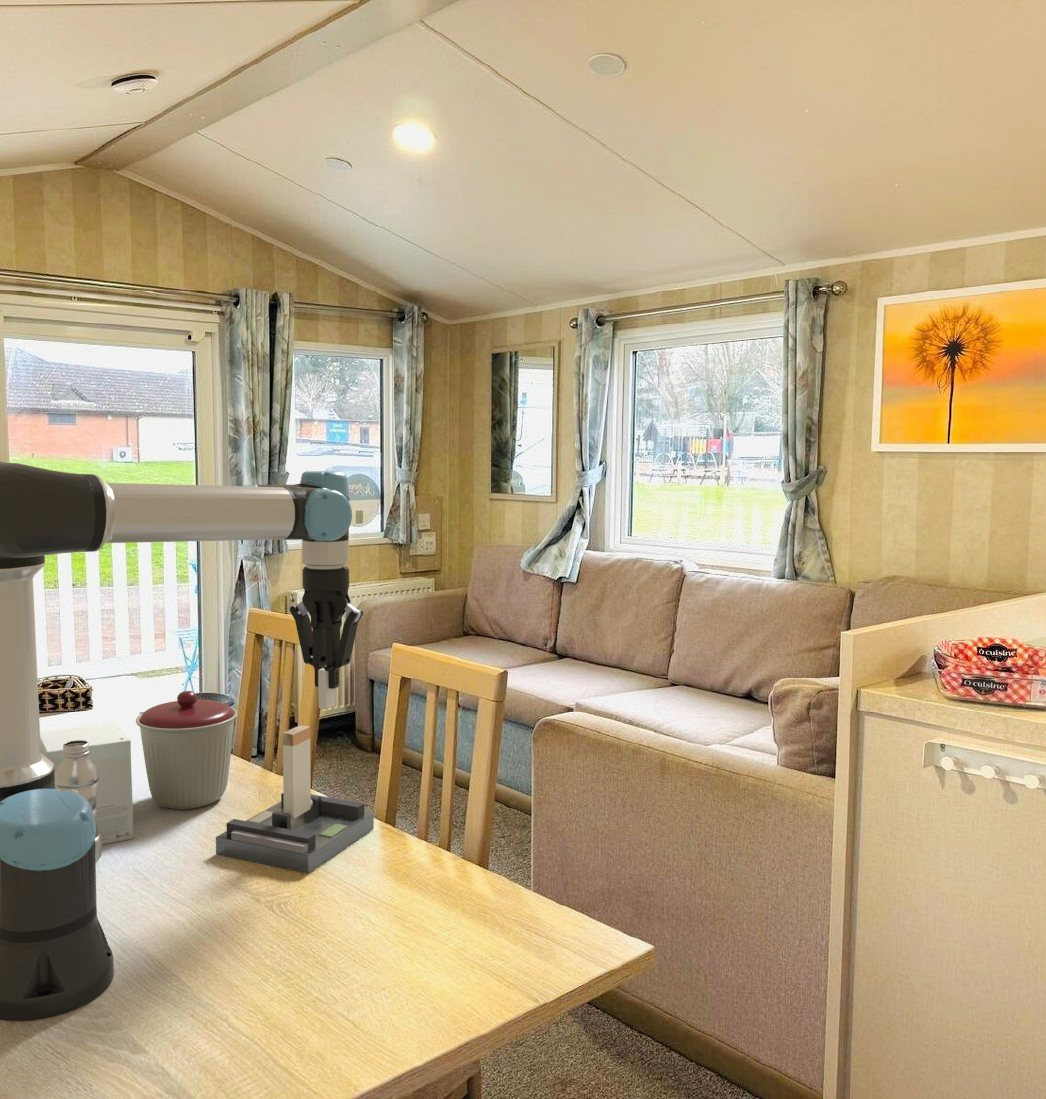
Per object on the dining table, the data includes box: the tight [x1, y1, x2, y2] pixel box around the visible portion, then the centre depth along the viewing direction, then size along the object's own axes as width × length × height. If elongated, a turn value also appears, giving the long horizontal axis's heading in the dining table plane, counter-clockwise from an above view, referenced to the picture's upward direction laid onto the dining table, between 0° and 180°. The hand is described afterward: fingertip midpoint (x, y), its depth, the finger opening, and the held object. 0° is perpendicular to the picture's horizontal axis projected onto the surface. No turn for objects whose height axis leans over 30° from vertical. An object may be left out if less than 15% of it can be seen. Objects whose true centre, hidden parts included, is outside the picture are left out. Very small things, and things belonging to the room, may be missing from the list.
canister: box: [135, 690, 239, 810], centre depth 184 cm, size 18×18×21 cm
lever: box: [281, 725, 313, 819], centre depth 166 cm, size 7×2×15 cm, turn 158°
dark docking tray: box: [226, 792, 365, 854], centre depth 166 cm, size 18×16×2 cm
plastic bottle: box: [55, 740, 103, 863], centre depth 155 cm, size 6×7×20 cm
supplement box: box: [40, 721, 134, 845], centre depth 168 cm, size 13×13×18 cm
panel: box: [215, 794, 375, 875], centre depth 167 cm, size 20×18×6 cm
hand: (327, 706), depth 162 cm, fingers closed
